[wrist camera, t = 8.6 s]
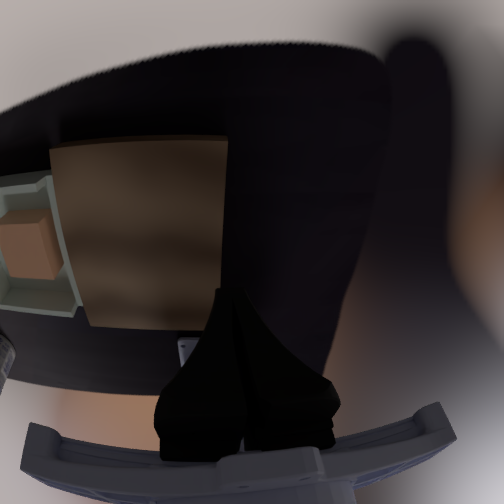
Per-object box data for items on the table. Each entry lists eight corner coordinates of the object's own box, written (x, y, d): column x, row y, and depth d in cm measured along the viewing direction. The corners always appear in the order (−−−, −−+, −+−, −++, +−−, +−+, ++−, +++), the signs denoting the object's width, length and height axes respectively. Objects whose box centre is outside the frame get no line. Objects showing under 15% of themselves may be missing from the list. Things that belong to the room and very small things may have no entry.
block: (65, 261, 21) (54, 279, 19) (22, 260, 21) (10, 277, 18) (52, 208, 19) (38, 223, 17) (8, 211, 18) (-7, 225, 16)
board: (217, 314, 27) (218, 330, 25) (95, 311, 25) (90, 325, 23) (226, 135, 18) (228, 141, 17) (61, 142, 17) (49, 149, 15)
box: (88, 295, 24) (78, 317, 21) (10, 289, 22) (-2, 308, 20) (61, 168, 18) (42, 182, 15) (-23, 180, 16) (-43, 194, 14)
